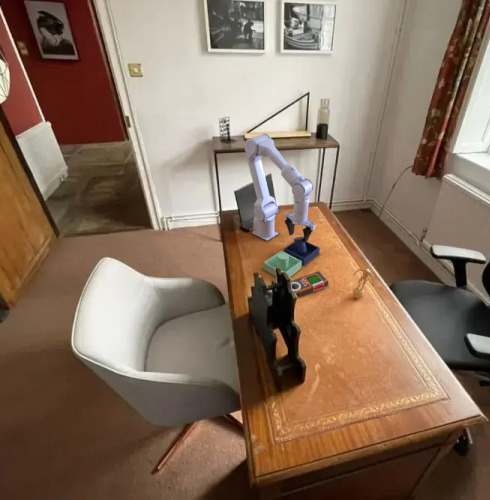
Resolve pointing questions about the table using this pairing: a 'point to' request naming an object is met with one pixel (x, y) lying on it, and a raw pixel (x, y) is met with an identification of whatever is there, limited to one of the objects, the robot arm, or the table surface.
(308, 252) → the navy tub
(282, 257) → the mint peg
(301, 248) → the navy peg
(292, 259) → the mint tub
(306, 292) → the electronic device
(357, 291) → the figurine
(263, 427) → the table surface
